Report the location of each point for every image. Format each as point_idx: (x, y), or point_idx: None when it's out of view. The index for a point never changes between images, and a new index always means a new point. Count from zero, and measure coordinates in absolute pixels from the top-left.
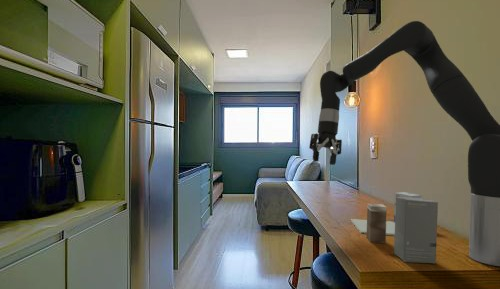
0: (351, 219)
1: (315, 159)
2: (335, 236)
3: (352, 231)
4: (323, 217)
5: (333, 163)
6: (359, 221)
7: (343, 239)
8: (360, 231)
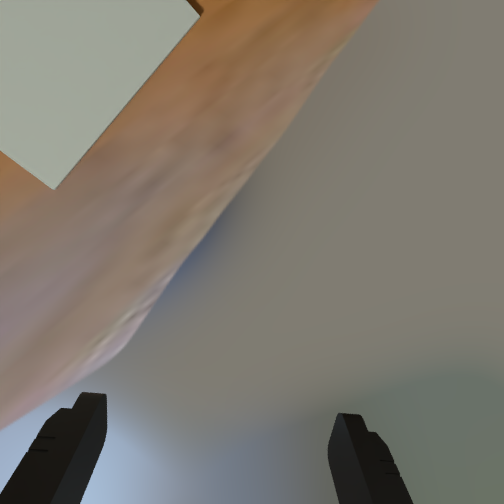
0: (58, 180)
1: (374, 433)
2: (325, 55)
3: (206, 60)
4: (137, 279)
5: (100, 401)
6: (49, 134)
7: (332, 9)
8: (197, 19)
